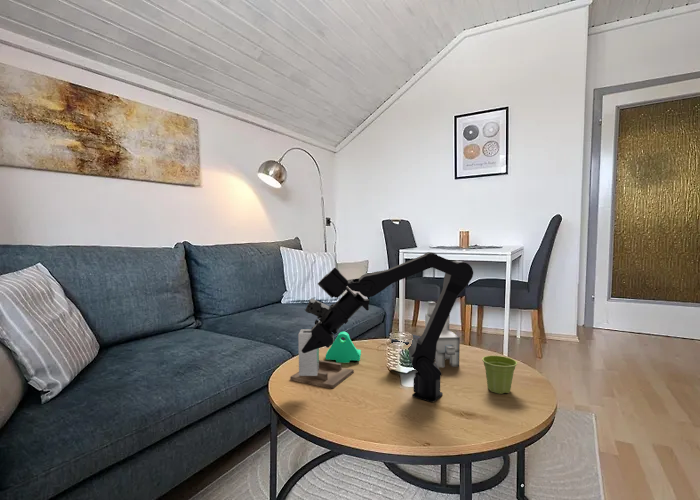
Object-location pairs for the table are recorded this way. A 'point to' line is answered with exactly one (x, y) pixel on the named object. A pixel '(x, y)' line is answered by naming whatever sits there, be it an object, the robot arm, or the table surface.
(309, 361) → the block
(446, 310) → the robot arm
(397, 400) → the table surface
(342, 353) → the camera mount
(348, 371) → the cradle
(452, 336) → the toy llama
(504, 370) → the plant pot
